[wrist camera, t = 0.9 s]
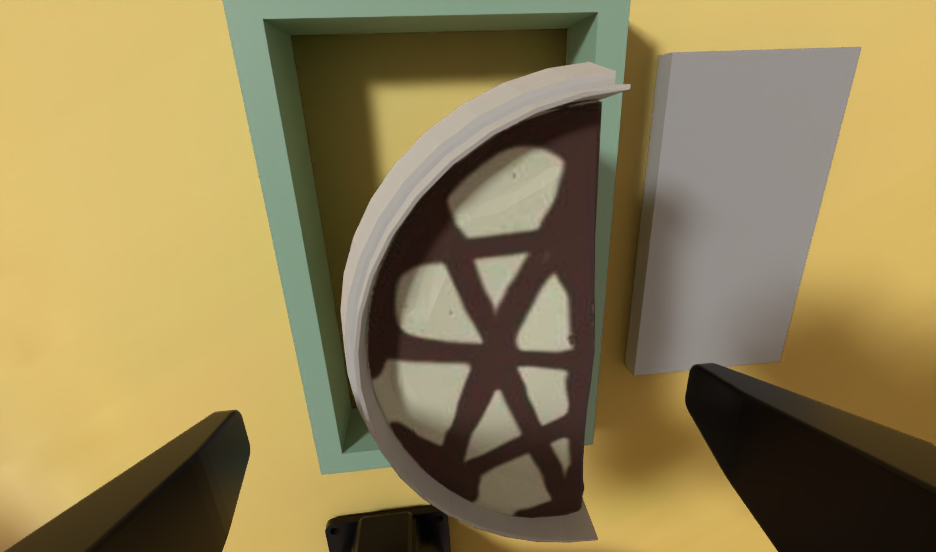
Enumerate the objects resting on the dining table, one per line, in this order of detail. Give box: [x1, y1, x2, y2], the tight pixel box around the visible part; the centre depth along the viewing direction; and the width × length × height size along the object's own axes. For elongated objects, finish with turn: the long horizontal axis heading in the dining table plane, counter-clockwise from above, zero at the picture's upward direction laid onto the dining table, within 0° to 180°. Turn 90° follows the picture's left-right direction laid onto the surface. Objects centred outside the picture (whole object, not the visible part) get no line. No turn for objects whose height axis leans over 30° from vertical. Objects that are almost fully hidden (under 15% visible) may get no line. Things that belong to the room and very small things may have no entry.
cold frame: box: [222, 0, 630, 475], centre depth 17 cm, size 18×12×3 cm, turn 2°
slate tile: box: [625, 47, 861, 376], centre depth 19 cm, size 14×8×1 cm, turn 2°
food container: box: [341, 62, 631, 542], centre depth 14 cm, size 12×6×10 cm, turn 3°
